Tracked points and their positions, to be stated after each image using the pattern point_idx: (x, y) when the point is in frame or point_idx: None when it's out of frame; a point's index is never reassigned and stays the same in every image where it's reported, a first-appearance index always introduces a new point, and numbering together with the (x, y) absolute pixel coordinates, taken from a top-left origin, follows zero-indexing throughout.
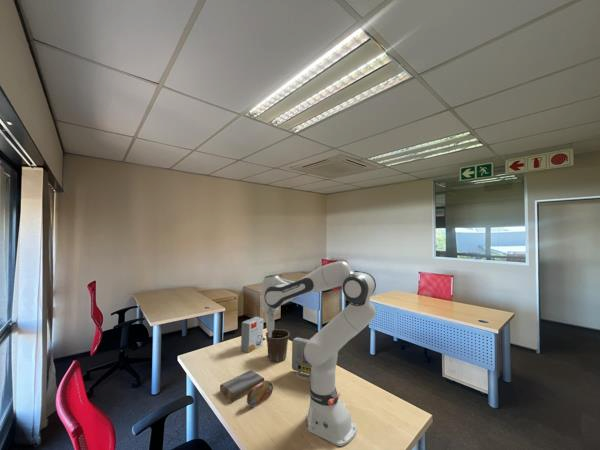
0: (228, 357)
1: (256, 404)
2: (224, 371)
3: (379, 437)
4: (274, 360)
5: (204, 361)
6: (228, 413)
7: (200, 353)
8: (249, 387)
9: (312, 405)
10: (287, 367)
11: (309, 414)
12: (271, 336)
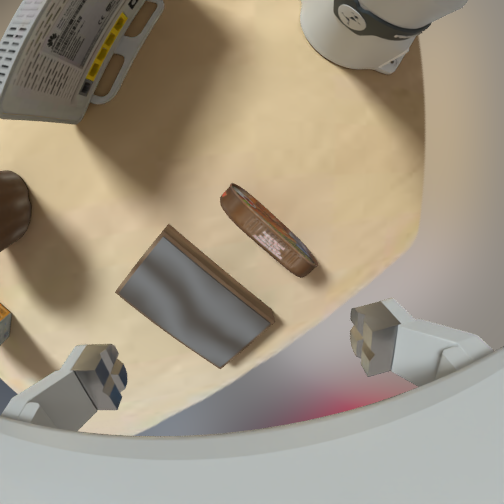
0: (51, 364)
1: (288, 233)
2: None
3: None
4: (28, 211)
5: None
6: (317, 306)
7: None
8: (221, 277)
9: (406, 44)
10: (55, 150)
11: (390, 59)
12: (391, 300)
